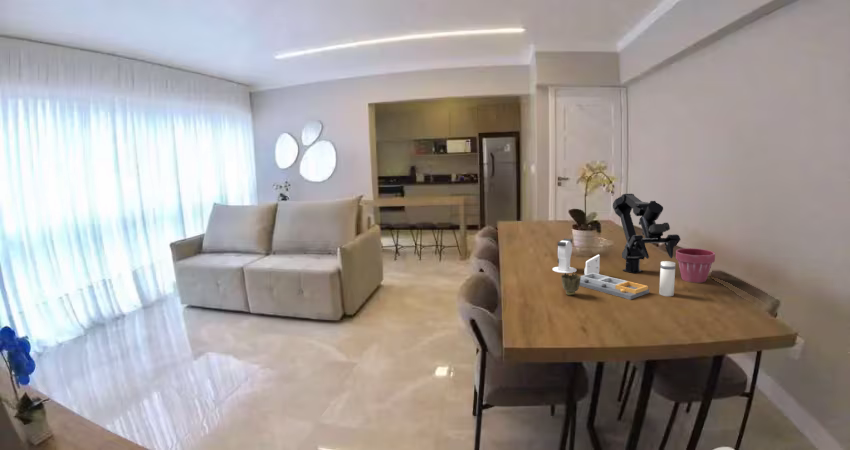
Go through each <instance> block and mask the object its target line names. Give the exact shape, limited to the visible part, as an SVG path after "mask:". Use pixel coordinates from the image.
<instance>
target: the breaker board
mask: <svg viewBox="0 0 850 450" xmlns="http://www.w3.org/2000/svg"><path fill="white" fill-rule="evenodd" d="M580 276H581V278H580V285H579V287H583V288H587V289H591V290H594V291H597V292H601V293H605V294H608V295H613V296H616V297H620V298H622V299H627V300H630V301H631V300H633V299H636V298H638V297H642V296H644V295H647V294H650V289H649V286H648V285H645V284H641V283H636V282H633V281H629V280H625V279H620V278H616V277H611V276H608V275H603V274H600V273H599V274H596V273H590V274H586V275H585V274H583V275H580Z"/></svg>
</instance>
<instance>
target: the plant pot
mask: <svg viewBox="0 0 850 450" xmlns="http://www.w3.org/2000/svg"><path fill="white" fill-rule="evenodd" d="M675 259H676V260H677V262H678V267H679V273H680V277H681V280H682V281H685V282H688V283H698V284H699V283H705V282H706V281H707V279H708V276H709V274H710V271H711V268H712V264H713V263H715V261H716V252H714V251H712V250H709V249H704V248H696V247H695V248H694V247H693V248H689V247H685V248H678V249H676V250H675Z"/></svg>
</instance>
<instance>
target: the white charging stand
mask: <svg viewBox="0 0 850 450" xmlns="http://www.w3.org/2000/svg"><path fill="white" fill-rule="evenodd" d="M572 241H573V239H572V238H563V240H560V241H558V242H557V250H556V251H557V263H558V266H554V267H552V271H554V272H555V273H560V274H565V273H566V274H574V273H576V272H577V268H575V267H571V256H572V252H573V251H572V250H573V242H572ZM573 272H574V273H573Z"/></svg>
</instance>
